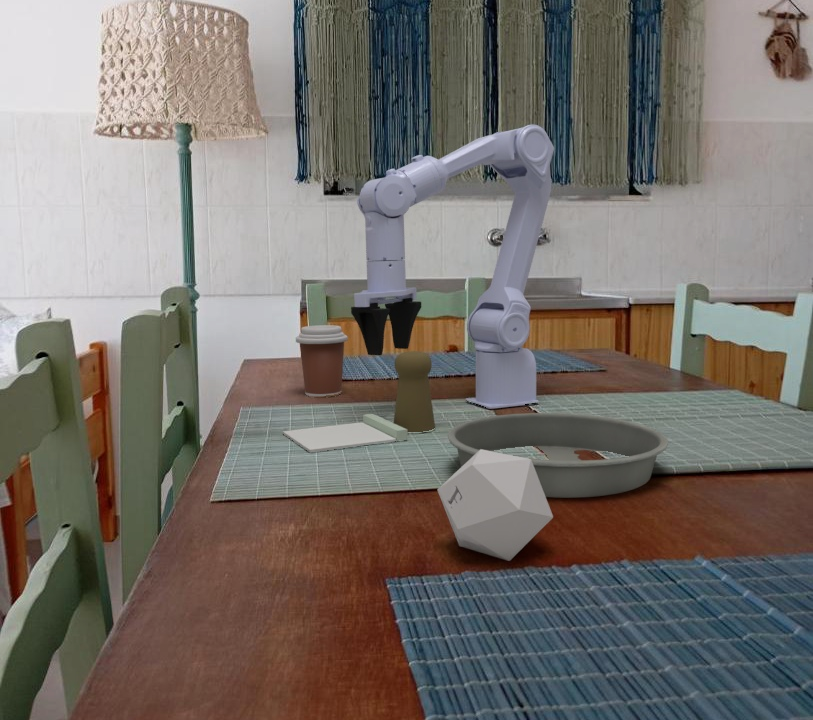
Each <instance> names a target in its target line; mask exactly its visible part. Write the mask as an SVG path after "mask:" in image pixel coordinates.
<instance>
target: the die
mask: <svg viewBox="0 0 813 720" xmlns="http://www.w3.org/2000/svg"><path fill="white" fill-rule="evenodd" d="M437 493H438V495H439V497H440V500H441V503H442V505H443V508H444V510H445V512H446V516H447V518H448V520H449V521H448V522H449V523H450V526H451V529H452V531H453V532H454V533H453V534H454V535H455V539H456V541H457V544H458V546H459V547H462V548H464V549H467V550H471V551H474V552H478V553H481V554H484V555H488V556H491V557H494V558H498V559H501V560H504V561H508V562H510V561H512V559H513V558H514V557H515V556H516V555H517V554H518V553H519V552H520V551H521V550H522V549H523V548H524V547H525V546H526V545H528V543H529V542H530V541H531V540H532V539H533V538H534V537H535V536H536V535H537V534H538V533H539V532H540V531H541V530H543V528H544V527H545V526H546V525H547V524H548V523H549V522H551V520H552V519H553V518H554V514H553V513H552V510H551V508H550V504H549V502H548V500H547V497H545V494H544V491H543V489H542V486H541V484H540V481H539V479H538V476H537V473H536V471H535V468H534V466H533V463H532V460H531V459H529V458H524V457H519V456H513V455H508V454H503V453H498V452H493V451H488V450H482V449H480V450H479V451H478V452H477V453H476V454H475V455H474V456H473V457H472V458H471V459H469V460H468V461H467V462H466V463H465V464H464V465H463V466H462V467H461V466H460V467H459V469H458V470H457V471H455V472H454V473H452V475H451V476H450V477H449V478H448V479H447V480H446V481H445V482H443V484H441V485H440V486H439V487H438V488H437Z"/></svg>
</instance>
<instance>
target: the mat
mask: <svg viewBox="0 0 813 720" xmlns="http://www.w3.org/2000/svg"><path fill="white" fill-rule="evenodd" d="M283 434H284V435H283ZM282 435H283V436H285V437H286V436H287V437H286V438H288V439H289V438H290V439H291V440H290V439H289V440H290V441H292V440H293V441H294V442H293V441H292V442H293V443H295V444H296V443H297V444H296V445H298V446H299V445H300V446H299V447H301V448H302V447H303V448H302V449H303V450H305V451H306V450H307V452H308V453H310V454H313V453H320V451H321V452H327V450H329V451H335V450H334V449H337V450H341V449H340V448H345V449H348V448H347V447H353V448H355V447H354V446H360V445H368V444H376V443H381V442H390V441H396V439H395V438H393V437H391V436H389V435H387V434H385V433H383V432H381V431H379V430H377V429H375V428H373V427H371V426H369V425H367V424H365V423H363V421H361V422H354V423H343V424H336V425H335V424H334V425H327V426H317V427H309V428H302V429H301V428H299V429H292V430H283V431H282ZM396 442H397V441H396Z"/></svg>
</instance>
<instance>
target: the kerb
mask: <svg viewBox="0 0 813 720" xmlns="http://www.w3.org/2000/svg"><path fill="white" fill-rule="evenodd" d="M362 419H363V420H362V422H363V423H365V424H367V425H369V426H371V427H373V428H375V429H377V430H379V431H381V432H383V433H385V434H387V435H389V436H391V437H393V438H395V439H396V440H397V441H399V440H407V439H408V438H409V437H408V433H407V429H405V428H403V427H401V426H398V425H396V424H394V422H392V421H390V420H387V419H385V418H383V417H381V416H378V415H376V414H374V413H368V414H367V413H366V414H363V415H362ZM408 440H409V439H408ZM397 441H396V442H397Z"/></svg>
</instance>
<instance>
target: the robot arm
mask: <svg viewBox="0 0 813 720" xmlns="http://www.w3.org/2000/svg"><path fill="white" fill-rule="evenodd" d="M554 151H555V147H554V145H553V143H552V141H551V139H550V137H549V136H548V134H547V132H546V130H545V129H544V128H543V127H541V126H540V125H538V124H527V125H526V126H522V127H520V128H515V129H511V130H510V129H509V130H506V131H497V132H494V133H493V134H489V135H486V136H483V137H482V136H481V137H479V138H476V139H474V140H472V141H470V142H469V143H467V144H465V145H463V146H461V147H460V148H457V149H456V150H454V151H452V152H449V153H448V154H446V155H444V156H442V157H441V158H436V157H434V156H430V155H426V156H423V154H417V155H416V156H413V157H411V159H410V160H411V163H408V164H407V165H404V166H402V167H400V168H397V169H395V168H390V169H388V170H385V171H386V172H385V177H381V178H375V179H371V180H368V181H367V182H366V183H365V184H363V187H361V189H360V190H361V191H360V193H359V197H358V198H356V203H357V206H358V209H359V211H360V212H361V213H362V215H363V217H364V221H365V224H364V225H365V226H364V227H365V252H366V254H365V255H366V282H367V283H366V284H367V285H366V286H367V288H366V289H363V290H361V292H357V293H353V295H354V296H353V299H354V303H353V304H354V306H351V307H350V314H351V315H352V317H353V319H355V321H356V323H357V326H358V327H359V329H360V333H361V335H362V339H363V342H364V345H365V349H366V353H367V355H368V356H379V357H380V356H383V351H384V342H385V341H384V339H385V329H386V324H387V320H388V318H389V320H390V325H391V334H392V341H393V347H394V349H397V350H398V349H400V350H403V349H404V350H408V349H409V346H410V343H411V337H412V333H413V332H412V331H413V328H414V325H415V322H416V320H417V319H416V318H417V316H418V315H419V312H420V311H421V309H422V301H417V299H418V296H417V292H418V291H417V287H411V286H410V287H408V286H407V282H406V281H407V280H406V250H405V249H406V248H405V243H406V242H405V217H404V216H405V215H406V213H408V211H409V209H410V208H411V207H412V206H415V205H417V204H419V203H421V202H423V201H425V200H426V199H429V198H431V197H432V196H435V195H437V194H439V193H441V192H443V191H444V190H445V188H446V185H447V183H448V179H450V178H453V177H455V176H458V175H460V174H462V173H463V172H464V173H465V172H467V171H469V170H471V169H473V168H475V167H478V166H479V165H483V166H490V167H491V168H492V170H494V172H496V173H497V174H498V175H499V176H500V178H501V179H503V181H504V182H505V183H506V184H507V185H508V186H509V187H510V189H511V190H512V192H513V193H514V197H513V201H512V204H511V208H510V211H509V216H508V219H507V222H506V227H505V231H504V235H503V238H502V241H501V246H500V248H499V253H498V256H497V260H496V264H495V268H494V271H493V275H492V280H491V283H490V286H489V288H487V289H486V291H484V292H483V293H482V294H481V295H480V296H479V297H478V300H477V304H476V306H475V308H474V309H473V310H472V312H471V313H470V315H469V316H468V318H467V323H466V332H467V335H468V336H469V338H470V339H471V341H472V342H473V343H474V345H473V346H474V347H473V348H474V349H475V397H468V398H467V397H466V398H465V401H466V400H467V401H471V402H474V403H476V404H479V405H481V406H480V407H482V406H484V407H483V408H485V407H486V409H491V410H493V409H501V408H502V409H504V408H509V407H519V406H526V405H525V404H527V403H532V402H539V403H540V401H539V400H538V399H537V361H536V357H535V355H534V353H533V352H532V351H531V350H530V349H529V348H526V347H523V346H524V345H525V343H526V342H527V341H528V338H529V335H530V330H531V327H530V313H531V309H532V307H531V305H530V303H529V302H528V300H527V299H526V297H525V296H524V294H525V289H526V286H527V284H528V278H529V276H530V271H531V268H532V263H533V260H534V256H535V253H536V249H537V246H538V243H539V242H538V241H539V237H540V234H541V230H542V226H543V222H544V219H545V216H546V212H547V208H548V204H549V200H550V196H551V192H552V179H551V178H552V177H551V176H552V175H551V162H552V158H553V154H554ZM388 298H389V299H388ZM380 305H384V307H385V308H381V306H380ZM467 401H466V402H467ZM476 404H475V405H476ZM479 405H478V406H479Z"/></svg>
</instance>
